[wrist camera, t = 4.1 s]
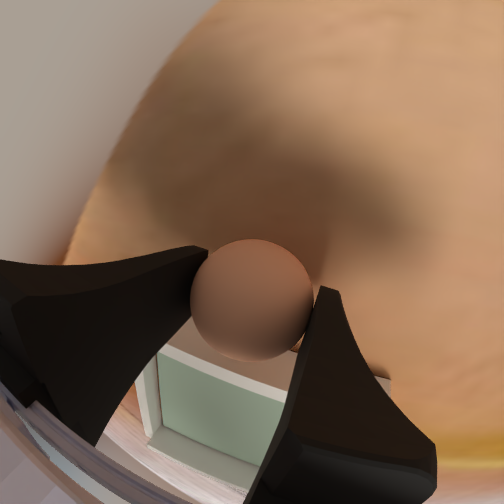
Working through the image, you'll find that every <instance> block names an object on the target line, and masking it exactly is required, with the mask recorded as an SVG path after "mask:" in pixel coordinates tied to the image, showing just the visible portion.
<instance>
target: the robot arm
mask: <svg viewBox="0 0 504 504" xmlns="http://www.w3.org/2000/svg"><path fill="white" fill-rule="evenodd" d="M207 258H208V250H206V249H203V248H200V247H197V246H194V245H193V246H184V247H179V248H174V249H170V250H166V251H161V252H157V253H153V254H149V255H144V256H139V257H134V258H129V259H124V260H119V261H113V262H106V263H98V264H87V265H37V264H26V263H19V262H13V261H6V260H0V504H104V503H102V502H101V501H100V500H98V499H97V498H96V497H94V496H93V495H92V494H90V493H89V492H88V491H86V490H85V489H84V488H82V487H81V486H80V485H79V484H77V483H76V482H75V481H74V480H72V479H71V478H70V477H69V476H68V475H66V474H65V473H64V472H63V471H62V470H60V469H59V468H58V467H57V466H56V465H55V464H54V463H52V462H51V461H50V457H49V456H48V455H47V453H46V452H45V451H44V450H43V449H42V448H41V447H40V446H39V444H38V443H37V442H36V440H35V439H34V438H33V437H32V435H31V434H30V433H29V431H28V429H27V428H26V426H25V425H24V423H23V422H22V421H21V419H20V418H19V417H18V416H17V414H16V413H15V411H16V412H17V413H18V414H19V415H20V416H21V417H22V418H23V419H24V420H25V421H26V422H27V423H28V424H29V425H30V426H31V427H32V428H33V429H34V430H35V431H36V432H37V433H38V434H39V435H40V436H41V437H42V438H43V439H44V440H46V441H47V442H48V443H49V444H50V445H51V446H52V447H54V448H55V449H56V450H57V451H58V452H59V453H61V454H62V455H63V456H64V457H65V458H66V459H68V460H69V461H70V462H71V463H73V464H74V465H75V466H76V467H78V468H79V469H80V470H82V471H83V472H84V473H86V474H87V475H88V476H90V477H91V478H93V479H94V480H95V481H97V482H98V483H100V484H101V485H102V486H104V487H105V488H107V489H108V490H110V491H112V492H113V493H114V494H116V495H118V496H119V497H121V498H122V499H124V500H126V501H127V502H129V503H131V504H192V503H190V502H188V501H185V500H183V499H181V498H179V497H177V496H175V495H173V494H171V493H169V492H167V491H165V490H163V489H161V488H159V487H157V486H155V485H154V484H152V483H150V482H148V481H146V480H145V479H143V478H141V477H139V476H138V475H136V474H134V473H133V472H131V471H129V470H128V469H126V468H124V467H123V466H121V465H120V464H118V463H116V462H115V461H113V460H112V459H110V458H109V457H107V456H106V455H104V454H103V453H101V452H100V451H98V450H97V449H96V448H95V446H96V444H97V442H98V440H99V438H100V436H101V434H102V433H103V431H104V429H105V427H106V425H107V423H108V422H109V420H110V418H111V417H112V415H113V414H114V412H115V410H116V409H117V407H118V405H119V404H120V402H121V401H122V399H123V398H124V396H125V395H126V393H127V392H128V390H129V389H130V387H131V386H132V384H133V383H134V381H135V380H136V379H137V377H138V376H139V375H140V373H141V372H142V371H143V369H144V368H145V366H146V365H147V364H148V363H149V361H150V360H151V359H152V358H153V357H154V356H155V355H156V354H157V352H158V351H159V350H160V349H161V348H162V347H163V346H164V345H165V344H166V343H167V342H168V341H169V340H170V339H171V338H172V337H173V336H174V335H175V334H176V333H177V331H178V330H179V329H180V328H181V327H182V326H183V325H184V324H185V323H186V322H187V321H188V320H189V318H190V317H191V316H192V314H191V308H190V293H191V287H192V284H193V280H194V277H195V275H196V273H197V271H198V270H199V268H200V266H201V265H202V264H203V262H204V261H205V260H206V259H207ZM436 488H437V456H436V447H435V444H434V443H433V442H432V441H431V440H430V439H429V438H428V437H427V436H426V435H425V434H423V433H422V432H421V431H420V430H419V429H418V428H417V427H416V426H415V425H414V424H413V423H412V422H411V421H410V420H409V419H408V418H407V417H406V416H405V415H404V414H403V412H402V411H401V410H400V409H399V408H398V407H397V406H396V405H395V403H394V402H393V401H392V400H391V398H390V397H389V396H388V395H387V393H386V392H385V390H384V389H383V388H382V386H381V385H380V384H379V382H378V381H377V379H376V378H375V376H374V375H373V373H372V372H371V370H370V368H369V367H368V365H367V363H366V361H365V360H364V358H363V356H362V354H361V352H360V350H359V348H358V346H357V343H356V341H355V339H354V336H353V334H352V331H351V329H350V326H349V323H348V320H347V318H346V315H345V311H344V308H343V304H342V300H341V295H340V293H339V291H338V290H334V289H331V288H328V287H325V286H320V289H319V292H318V295H317V299H316V302H315V305H314V308H313V311H312V314H311V317H310V320H309V323H308V326H307V329H306V332H305V335H304V337H303V340H302V343H301V346H300V349H299V352H298V354H297V357H296V362H295V366H294V370H293V374H292V378H291V382H290V386H289V389H288V393H287V397H286V401H285V405H284V408H283V411H282V415H281V418H280V421H279V423H278V426H277V428H276V430H275V433H274V435H273V438H272V440H271V443H270V445H269V447H268V450H267V452H266V454H265V457H264V459H263V461H262V464H261V466H260V468H259V470H258V473H257V475H256V477H255V479H254V481H253V483H252V486H251V488H250V490H249V492H248V494H247V496H246V498H245V500H244V502H243V504H422V503H423V502H424V501H426V500H427V499H428V498H429V497H430V496H432V495H433V493H434V491H435V490H436Z"/></svg>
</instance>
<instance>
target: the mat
mask: <svg viewBox="0 0 504 504" xmlns="http://www.w3.org/2000/svg"><path fill="white" fill-rule="evenodd" d="M157 362H158V376H159V388H160V398H161V408H162V417H163V425H164V426H166V427H168V428H170V429H172V430H174V431H176V432H178V433H180V434H182V435H184V436H186V437H188V438H190V439H192V440H195V441H197V442H199V443H201V444H204V445H206V446H208V447H210V448H213V449H215V450H218V451H220V452H222V453H225V454H227V455H230V456H232V457H235V458H238V459H240V460H243V461H246V462H249V463H251V464H254V465H257V466H261V464H262V461H263V459H264V457H265V454H266V452H267V450H268V447H269V445H270V443H271V440H272V438H273V435H274V433H275V430H276V428H277V426H278V423H279V421H280V418H281V415H282V411H283V408H284V405H285V403H283V402H280V401H277V400H274V399H271V398H268V397H265V396H263V395H260V394H257V393H254V392H252V391H249V390H246V389H244V388H241V387H238V386H236V385H233V384H231V383H228V382H226V381H223V380H221V379H218V378H216V377H213V376H211V375H208V374H206V373H204V372H201V371H199V370H197V369H195V368H192V367H190V366H188V365H186V364H183V363H181V362H179V361H177V360H175V359H172V358H170V357H168V356H166V355H164V354H162V353H160V352H157Z"/></svg>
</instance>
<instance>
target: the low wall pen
mask: <svg viewBox="0 0 504 504" xmlns="http://www.w3.org/2000/svg"><path fill="white" fill-rule="evenodd" d="M158 352H160V353H162V354H164V355H166V356H168V357H170V358H172V359H175V360H177V361H179V362H181V363H183V364H186V365H188V366H190V367H192V368H195V369H197V370H199V371H201V372H204V373H206V374H208V375H211V376H213V377H216V378H218V379H221V380H223V381H226V382H228V383H231V384H233V385H236V386H238V387H241V388H244V389H246V390H249V391H252V392H254V393H257V394H260V395H263V396H265V397H268V398H271V399H274V400H277V401H280V402H283V403H285V401H286V397H287V393H288V389H289V386H290V382H291V378H292V374H293V370H294V366H295V362H296V357H297V354H298V353H295V352H292V351H289V350H288V351H287V352H285V353H283V354H281V355H279V356H277V357H275V358H272V359H269V360H265V361H260V362H244V361H238V360H234V359H231V358H229V357H226V356H224V355H222V354H221V353H219V352H217V351H216V350H214V349H213V348H212V347H211V346H210V345H209V344H208V343H207V342H206V341H205V340H204V339H203V338H202V336H201V335H200V333H199V332H198V330H197V328H196V326H195V323H194V321H193V318H192V316H191V317H190V318H189V320H188V321H187V322H186V323H185V324H184V325H183V326H182V327H181V328H180V329H179V330H178V331H177V333H176V334H175V335H174V336H173V337H172V338H171V339H170V340H169V341H168V342H167V343H166V344H165V345H164V346H163V347H162V348H161V349H160V350H159V351H158ZM375 378H376V379H377V381H378V382H379V384H380V385H381V386H382V388H383V389H384V390H385V392H386V393H387V395H388V396H389V397H390V398H391V380H389V379H385V378H381V377H377V376H375ZM135 386H136V391H137V397H138V402H139V407H140V412H141V416H142V421H143V425H144V430H145V434H146V436H148V437H150V438H151V439H150V440H149V441H148V443H147V447H148V448H149V449H150V450H152V451H154V452H156V453H158V454H160V455H162V456H163V457H165V458H167V459H169V460H171V461H173V462H175V463H177V464H179V465H181V466H183V467H186V468H188V469H190V470H192V471H194V472H196V473H199V474H201V475H203V476H205V477H208V478H210V479H213V480H215V481H217V482H220V483H222V484H225V485H227V486H230V487H233V488H235V489H238V490H241V491H244V492H247V493H248V492H249V490H250V488H251V486H252V483H253V481H254V479H255V477H256V475H257V473H258V470H259V468H260V466H257V465H254V464H251V463H249V462H246V461H243V460H240V459H238V458H235V457H232V456H230V455H227V454H225V453H222V452H220V451H218V450H215V449H213V448H210V447H208V446H206V445H204V444H201V443H199V442H197V441H195V440H192V439H190V438H188V437H186V436H184V435H182V434H180V433H178V432H176V431H174V430H172V429H170V428H168V427H166V426H164V425H163V423H162V416H161V407H160V397H159V387H158V376H157V363H156V355H155V356H154V357H153V358H152V359H151V360H150V361H149V363H148V364H147V365H146V366H145V368H144V369H143V371H142V372H141V373H140V375H139V376H138V377H137V379H136V380H135Z"/></svg>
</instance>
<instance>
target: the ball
mask: <svg viewBox="0 0 504 504" xmlns="http://www.w3.org/2000/svg"><path fill="white" fill-rule="evenodd" d="M313 305H314V298H313V289H312V284H311V281H310V279H309V276H308V274H307V272H306V270H305V268H304V267H303V265H302V264H301V263H300V261H299V260H298V259H297V258H296V257H295V256H294V255H293V254H292V253H290V252H289V251H288V250H286V249H285V248H283V247H281V246H279V245H277V244H275V243H272V242H269V241H265V240H259V239H244V240H239V241H235V242H232V243H229V244H226V245H224V246H222V247H221V248H219V249H217V250H216V251H215V252H213V253H212V254H211V255H210V256H209V257H208V258H207V259H206V260H205V261H204V262H203V264H202V265H201V266H200V268H199V270H198V271H197V273H196V275H195V277H194V280H193V284H192V287H191V293H190V308H191V314H192V318H193V321H194V323H195V326H196V328H197V330H198V332H199V333H200V335H201V336H202V338H203V339H204V340H205V341H206V342H207V343H208V344H209V345H210V346H211V347H212V348H213V349H214V350H216V351H217V352H219V353H221V354H222V355H224V356H226V357H229V358H231V359H234V360H238V361H244V362H260V361H265V360H269V359H272V358H275V357H277V356H279V355H281V354H283V353H285V352H287V351H288V350H289V349H290V348H292V347H293V346H294V345H295V344H296V343H297V342H298V341H299V340H300V338H301V337H302V336H303V334H304V333H305V331H306V329H307V326H308V323H309V320H310V317H311V314H312V311H313Z"/></svg>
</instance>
